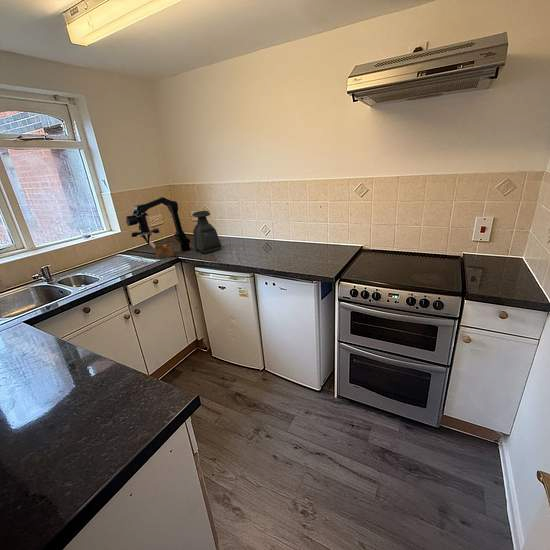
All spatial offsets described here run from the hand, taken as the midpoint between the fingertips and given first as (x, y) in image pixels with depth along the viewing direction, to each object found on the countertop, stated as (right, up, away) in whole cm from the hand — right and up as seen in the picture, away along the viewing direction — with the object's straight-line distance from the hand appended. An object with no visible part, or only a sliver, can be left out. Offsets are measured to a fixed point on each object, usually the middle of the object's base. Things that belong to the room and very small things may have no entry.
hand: (148, 243), depth 219 cm
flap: (-1, +1, +9) cm, 9 cm away
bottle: (+40, -4, +15) cm, 43 cm away
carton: (+7, -7, +15) cm, 18 cm away
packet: (+9, -3, +14) cm, 17 cm away
